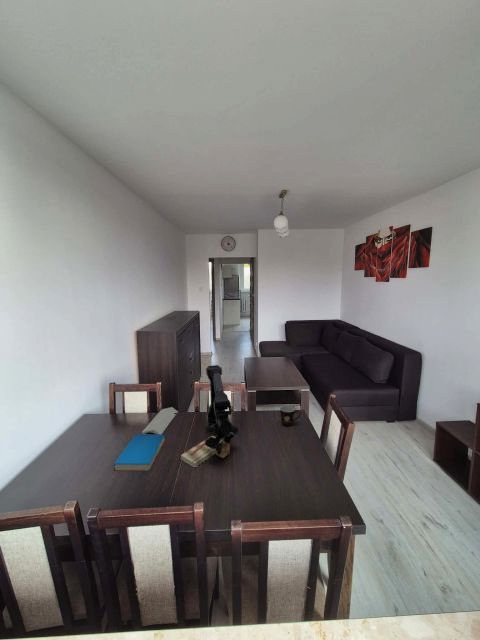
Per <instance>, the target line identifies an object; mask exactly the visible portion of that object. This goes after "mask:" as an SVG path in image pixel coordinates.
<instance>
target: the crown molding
mask: <svg viewBox="0 0 480 640" xmlns="http://www.w3.org/2000/svg"><path fill="white" fill-rule="evenodd" d="M174 413H179V411H178V410H176V409H175V408H174V407H172V406H171V407H167V408H162V409H160V411H159V412H158V413H157V414H156V416H155V417H154V418H153V419H152V420H151V421H150V422H149V423H148V425H146V427H145V428H144V429H143V430H142V431H141V433H140V434H147V433H151V434H152V433H153V434H163V433H164V431H165V430H166V428H167V427H168V425H170V424H171V421H172V420H173V419H174V418H175V416H177V414H174Z"/></svg>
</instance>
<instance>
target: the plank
mask: <svg viewBox="0 0 480 640" xmlns="http://www.w3.org/2000/svg"><path fill="white" fill-rule="evenodd" d="M210 437H214V438H216V436H215V435H211V436H209V437H208V438H210ZM208 438H206V439H205V440H207V439H208ZM205 440H203V441H202V442H200V443H198V444H197V445H195V446H193V447H191V448H190V449H189V450H187V451H185V452H184V453H182V454H181V455H180V460H181V461H182V462H184V463H186V464H188V465H189V466H191V467H192V468H194V467H196V468H198V465H199V464H200V465H202V464H203V463H204V462H206V461H207V460H208V459H210V458H211V457H213V456H214V455H216V451H215V449H212V448H210V447H208V446H206V445H204V446H203V447H202V448H200V449H199V450H198V451H197V452H196V453H194V454H193V455H190V453H192V452H193V451H194V450H195V449H197V448H198V447H199V446H200V445H202V444H203V443H204V442H205ZM221 441H224V439H222V440H221ZM221 441H220V442H221ZM205 460H206V461H205ZM202 462H203V463H202ZM200 465H199V466H200Z"/></svg>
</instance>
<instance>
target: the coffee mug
mask: <svg viewBox="0 0 480 640" xmlns="http://www.w3.org/2000/svg"><path fill="white" fill-rule="evenodd" d="M279 411H280V412H279V413H280V420H281V421H280V422H281V425H282V426H283V427H286V428H290V427H292V426H293V422H294V421H296V420H297V419H299V418H300V417H301V412H300V411H298V410H296V411H295V408H294V406H291V405H282V406H280V408H279ZM296 413H298V414H299V416H297V417H295V418H294V416H295V414H296Z"/></svg>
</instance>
